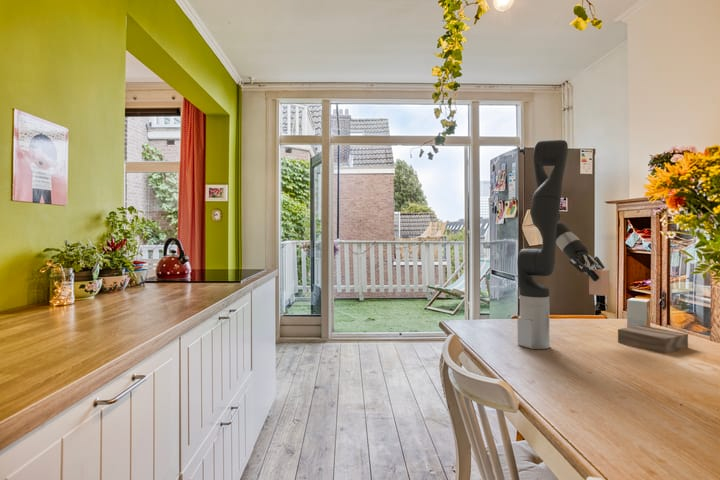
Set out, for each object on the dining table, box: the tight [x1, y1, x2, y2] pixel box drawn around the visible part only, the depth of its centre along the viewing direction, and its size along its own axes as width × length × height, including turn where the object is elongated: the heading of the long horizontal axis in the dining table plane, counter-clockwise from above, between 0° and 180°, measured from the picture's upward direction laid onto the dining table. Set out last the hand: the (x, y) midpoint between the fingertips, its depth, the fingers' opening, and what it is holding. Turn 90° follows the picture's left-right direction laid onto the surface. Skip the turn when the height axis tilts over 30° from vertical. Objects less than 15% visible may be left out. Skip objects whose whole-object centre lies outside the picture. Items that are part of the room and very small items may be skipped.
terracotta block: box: [588, 268, 611, 297], centre depth 133 cm, size 4×4×9 cm
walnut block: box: [617, 325, 689, 355], centre depth 125 cm, size 14×14×5 cm
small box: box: [626, 297, 651, 328], centre depth 140 cm, size 8×6×13 cm
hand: (601, 279), depth 132 cm, fingers closed on terracotta block, 4 cm apart
